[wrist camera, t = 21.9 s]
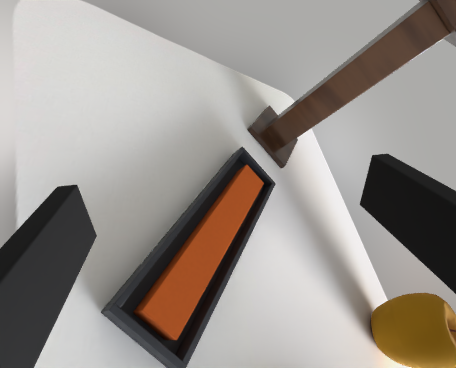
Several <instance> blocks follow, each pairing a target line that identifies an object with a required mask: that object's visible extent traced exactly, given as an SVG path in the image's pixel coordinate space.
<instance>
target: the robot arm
mask: <svg viewBox="0 0 456 368" xmlns="http://www.w3.org/2000/svg"><path fill="white" fill-rule="evenodd" d="M360 205H361V206H362V207H363V208H365V210H366V211H367V212H368V213H369V214H371V215H372V216H373V217H374V218H375V219H376V220H377V221H378V222H379V223H380V224H381V225H382V226H383V227H385V228H386V229H387V230H388V231H389V232H390V233H391V234H392V235H393V236H394V237H395V238H396V239H397V240H398V241H400V242H401V243H402V244H403V245H404V246H405V247H406V248H407V249H408V250H409V251H410V252H411V253H412V254H414V255H415V256H416V257H417V258H418V259H419V260H420V261H421V262H422V263H423V264H424V265H425V266H427V268H429V269H430V270H431V271H432V272H433V273H434V274H435V275H436V276H437V277H438V278H440V279H441V280H442V281H443V282H444V283H445V284H446V285H447V286H448V287H449V288H450V289H451V290H452V291H453V292H454V293H455V294H456V191H455V190H453V189H451V188H449V187H448V186H446V185H444V184H442V183H440V182H438V181H436V180H435V179H433V178H431V177H429V176H427V175H425V174H424V173H422V172H420V171H418V170H416V169H415V168H413V167H411V166H409V165H407V164H405V163H403V162H402V161H400V160H398V159H396V158H394V157H393V156H391V155H389V154H380V155H372V158H371V162H370V166H369V171H368V174H367V178H366V182H365V186H364V190H363V194H362V198H361V201H360ZM96 237H97V235H96V233H95V230H94V227H93V225H92V222H91V220H90V217H89V214H88V212H87V209H86V207H85V204H84V202H83V199H82V196H81V194H80V191H79V189H78V186H77V185H69V186H59V187H57V188H56V189H55V190H54V191H53V192H52V193H51V194H50V195H49V196H48V197H47V199H46V200H45V201H44V202H43V203H42V204H41V205H40V206H39V207H38V208H37V209H36V210H35V212H34V213H33V214H32V215H31V216H30V217H29V218H28V219H27V220H26V221H25V222H24V223H23V225H22V226H21V227H20V228H19V229H18V230H17V231H16V232H15V233H14V234H13V235H12V236H11V238H10V239H9V240H8V241H7V242H6V243H5V244H4V245H3V246H2V247H1V249H0V368H34V366H35V364H36V362H37V360H38V358H39V356H40V353H41V351H42V349H43V347H44V345H45V343H46V341H47V339H48V337H49V335H50V333H51V330H52V328H53V326H54V324H55V322H56V320H57V318H58V316H59V314H60V312H61V310H62V308H63V305H64V303H65V301H66V299H67V297H68V295H69V293H70V291H71V289H72V287H73V285H74V282H75V280H76V278H77V276H78V274H79V272H80V270H81V268H82V266H83V264H84V262H85V260H86V257H87V255H88V253H89V251H90V249H91V247H92V245H93V243H94V241H95V239H96Z"/></svg>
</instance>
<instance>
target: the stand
mask: <svg viewBox="0 0 456 368" xmlns="http://www.w3.org/2000/svg"><path fill="white" fill-rule="evenodd" d="M419 1H420V2H419V3H418V4H417V5H415V6H414V7H413V8H412V9H410V10H409V11H408V12H407V13H406V14H404V15H403V16H402V17H401V18H399V19H398V20H397V21H396V22H394V23H393V24H392V25H390V26H389V27H388V28H387V29H385V30H384V31H383V32H382V33H381V34H379V35H378V36H377V37H375V38H374V39H373V40H372V41H371V42H369V43H368V44H367V45H365V46H364V47H363V48H362V49H361V50H359V51H358V52H357V53H356V54H354V55H353V56H352V57H351V58H349V59H348V60H347V61H346V62H344V63H343V64H342V65H341V66H340V67H338V68H337V69H336V70H335V71H333V72H332V73H331V74H329V75H328V76H327V77H326V78H324V79H323V80H322V81H321V82H319V83H318V84H317V85H316V86H314V87H313V88H312V89H311V90H309V91H308V92H307V93H306V94H304V95H303V96H302V97H301V98H299V99H298V100H297V101H296V102H294V103H293V104H292V105H291V106H289V107H288V108H287V109H286V110H284V111H283V112H282V113H281V114H279V115H277V114H276V113H275V111H274V110H273V109H272V108H271V107H270V106H268V107H267V108H266V109H265V110H264V111H263V113H262V114H261V115H260V116H259V117H258V118H257V119H256V120H255V122H254V123H253V124H252V125H251V126H250V127H249V128H248V131H249V132H250V133H251V134H252V135H253V137H254V138H255V139H256V140H257V141H258V142H259V143H260V145H261V146H262V147H263V148H264V149H265V150H266V151H267V153H268V154H269V155H270V156H271V157H272V158H273V159H274V161H275V162H276V163H277V164H278V165H279V166H280V167H281V168H283V167H285V165H286V163H287V161H288V159H289V157H290V155H291V153H292V151H293V149H294V147H295V145H296V142H297V140H298V139H297V137H299V136H300V135H302V134H303V133H305V132H306V131H308V130H309V129H311V128H312V127H313V126H315V125H316V124H318V123H319V122H321V121H322V120H324V119H325V118H327V117H328V116H330V115H331V114H332V113H334V112H336V111H337V110H339V109H340V108H341V107H343V106H345V105H346V104H347V103H349V102H350V101H352V100H353V99H355V98H356V97H358V96H359V95H361V94H362V93H364V92H365V91H367V90H368V89H370V88H371V87H372V86H374V85H376V84H377V83H378V82H380V81H381V80H383V79H384V78H386V77H387V76H389V75H390V74H392V73H393V72H395V71H396V70H398V69H399V68H401V67H402V66H403V65H405V64H406V63H408V62H410V61H411V60H412V59H414V58H415V57H417V56H418V55H420V54H421V53H423V52H424V51H426V50H427V49H429V48H430V47H431V46H433V45H435V44H436V43H437V42H439V41H441V40H442V39H445V40H446V41H448V42H449V43H451V44H453V45H454V46H456V0H419Z"/></svg>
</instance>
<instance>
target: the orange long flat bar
mask: <svg viewBox="0 0 456 368" xmlns="http://www.w3.org/2000/svg"><path fill="white" fill-rule="evenodd" d="M263 184H264V183H263V182H262V180H261V179H260V178H259V177H258V176H257V175H256V174H255V173H254V172H253V170H252V169H251V168H250V167H249V166H248V165H245V166H244V167H242V168H241V169H239V170H238V171H237V172H236V174H235V175H234V176H233V178H232V179H231V181H230V182H229V183H228V185H227V186H226V187H225V189H224V190H223V191H222V193H221V194H220V195H219V197H218V198H217V199H216V201H215V202H214V203H213V205H212V206H211V208H210V209H209V210H208V212H207V213H206V214H205V216H204V217H203V218H202V220H201V221H200V222H199V224H198V225H197V226H196V228H195V229H194V230H193V232H192V233H191V235H190V236H189V237H188V239H187V240H186V241H185V243H184V244H183V245H182V247H181V248H180V249H179V251H178V252H177V253H176V255H175V256H174V257H173V259H172V260H171V262H170V263H169V264H168V266H167V267H166V268H165V270H164V271H163V272H162V274H161V275H160V276H159V278H158V279H157V280H156V282H155V283H154V284H153V286H152V287H151V289H150V290H149V291H148V293H147V294H146V295H145V297H144V298H143V299H142V301H141V302H140V303H139V305H138V306H137V307H136V309H135V310H134V311H133V313H134V314H135V315H137V316H138V317H139V318H140V319H141V320H142V321H144V322H145V323H146V324H147V325H148V326H149V327H151V328H152V329H153V330H154V331H155V332H156V333H157V334H159V335H160V336H161V337H162V338H163V339H164V340H177V339H178V337H179V335H180V334H181V332H182V330H183V328H184V326H185V325H186V323H187V321H188V319H189V317H190V316H191V314H192V312H193V310H194V308H195V307H196V305H197V303H198V301H199V299H200V298H201V296H202V294H203V292H204V290H205V289H206V287H207V285H208V283H209V281H210V280H211V278H212V276H213V274H214V272H215V271H216V269H217V267H218V265H219V263H220V262H221V260H222V258H223V256H224V254H225V253H226V251H227V249H228V247H229V245H230V244H231V242H232V240H233V238H234V236H235V235H236V233H237V231H238V229H239V227H240V226H241V224H242V222H243V220H244V218H245V217H246V215H247V213H248V211H249V209H250V208H251V206H252V204H253V202H254V200H255V198H256V197H257V195H258V193H259V191H260V189H261V188H262V186H263Z"/></svg>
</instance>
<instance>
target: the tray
mask: <svg viewBox="0 0 456 368" xmlns="http://www.w3.org/2000/svg"><path fill="white" fill-rule="evenodd" d="M245 165H248V166H249V167H250V168H251V169H252V170H253V172H254V173H255V174H256V175H257V176H258V177H259V178H260V179H261V180H262V182H263V183H264V184H263V186H262V188H261V189H260V191H259V193H258V195H257V197H256V198H255V200H254V202H253V204H252V206H251V208H250V209H249V211H248V213H247V215H246V217H245V218H244V220H243V222H242V224H241V226H240V227H239V229H238V231H237V233H236V235H235V236H234V238H233V240H232V242H231V244H230V245H229V247H228V249H227V251H226V253H225V254H224V256H223V258H222V260H221V262H220V263H219V265H218V267H217V269H216V271H215V272H214V274H213V276H212V278H211V280H210V281H209V283H208V285H207V287H206V289H205V290H204V292H203V294H202V296H201V298H200V299H199V301H198V303H197V305H196V307H195V308H194V310H193V312H192V314H191V316H190V317H189V319H188V321H187V323H186V325H185V326H184V328H183V330H182V332H181V334H180V335H179V337H178V339H177V340H164V339H163V338H162V337H161V336H160V335H159V334H157V333H156V332H155V331H154V330H153V329H152V328H151V327H149V326H148V325H147V324H146V323H145V322H144V321H142V320H141V319H140V318H139V317H138V316H137V315H135V314H134V313H133V311H134V310H135V309H136V307H137V306H138V305H139V303H140V302H141V301H142V299H143V298H144V297H145V295H146V294H147V293H148V291H149V290H150V289H151V287H152V286H153V284H154V283H155V282H156V280H157V279H158V278H159V276H160V275H161V274H162V272H163V271H164V270H165V268H166V267H167V266H168V264H169V263H170V262H171V260H172V259H173V257H174V256H175V255H176V253H177V252H178V251H179V249H180V248H181V247H182V245H183V244H184V243H185V241H186V240H187V239H188V237H189V236H190V235H191V233H192V232H193V230H194V229H195V228H196V226H197V225H198V224H199V222H200V221H201V220H202V218H203V217H204V216H205V214H206V213H207V212H208V210H209V209H210V208H211V206H212V205H213V203H214V202H215V201H216V199H217V198H218V197H219V195H220V194H221V193H222V191H223V190H224V189H225V187H226V186H227V185H228V183H229V182H230V181H231V179H232V178H233V176H234V175H235V174H236V172H237V171H238V170H239V169H241V168H242V167H244V166H245ZM274 186H275V182H274V181H273V180H272V179H271V178H270V177H269V176H268V175H267V173H266V172H265V171H264V170H263V169H262V168H261V167H260V166H259V164H258V163H257V162H256V161H255V160H254V159H253V158H252V157H251V156H250V154H249V153H248V152H247V151H246V150H245V149H244V148H243V147H241V148H240V149H239V150H237V151H236V152H235V153H234V154H233V155H232V156H231V157H230V158H229V160H228V161H227V162H226V163H225V164H224V166H223V167H222V168H221V169H220V170H219V172H218V173H217V174H216V175H215V176H214V178H213V179H212V180H211V181H210V182H209V184H208V185H207V186H206V187H205V188H204V189H203V191H202V192H201V193H200V194H199V195H198V197H197V198H196V199H195V200H194V201H193V203H192V204H191V205H190V206H189V207H188V209H187V210H186V211H185V212H184V213H183V215H182V216H181V217H180V218H179V219H178V221H177V222H176V223H175V224H174V225H173V227H172V228H171V229H170V230H169V231H168V232H167V234H166V235H165V236H164V237H163V238H162V240H161V241H160V242H159V243H158V244H157V246H156V247H155V248H154V249H153V250H152V252H151V253H150V254H149V255H148V256H147V258H146V259H145V260H144V261H143V262H142V264H141V265H140V266H139V267H138V268H137V270H136V271H135V272H134V273H133V274H132V275H131V277H130V278H129V279H128V280H127V281H126V283H125V284H124V285H123V286H122V287H121V289H120V290H119V291H118V292H117V293H116V295H115V296H114V297H113V298H112V299H111V301H110V302H109V303H108V304H107V305H106V307H105V308H104V309H103V310H102V311H101V313H102V314H103V315H104V316H106V317H107V318H108V319H109V320H110V321H112V322H113V323H114V324H115V325H116V326H118V327H119V328H120V329H121V330H122V331H124V332H125V333H126V334H127V335H128V336H130V337H131V338H132V339H133V340H134V341H136V342H137V343H138V344H139V345H140V346H142V347H143V348H144V349H145V350H147V351H148V352H149V353H150V354H151V355H153V356H154V357H155V358H156V359H157V360H159V361H160V362H161V363H162V364H163V365H165V366H166V367H167V368H186V367H187V365H188V363H189V361H190V359H191V356H192V354H193V352H194V350H195V348H196V346H197V344H198V342H199V340H200V338H201V336H202V334H203V332H204V330H205V328H206V326H207V324H208V322H209V319H210V317H211V315H212V313H213V311H214V309H215V307H216V305H217V303H218V301H219V299H220V297H221V295H222V293H223V291H224V289H225V287H226V285H227V283H228V280H229V278H230V276H231V274H232V272H233V270H234V268H235V266H236V264H237V262H238V260H239V258H240V256H241V254H242V252H243V250H244V248H245V246H246V244H247V241H248V239H249V237H250V235H251V233H252V231H253V229H254V227H255V225H256V223H257V221H258V219H259V217H260V215H261V213H262V211H263V209H264V207H265V204H266V202H267V200H268V198H269V196H270V194H271V192H272V190H273V188H274Z"/></svg>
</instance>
